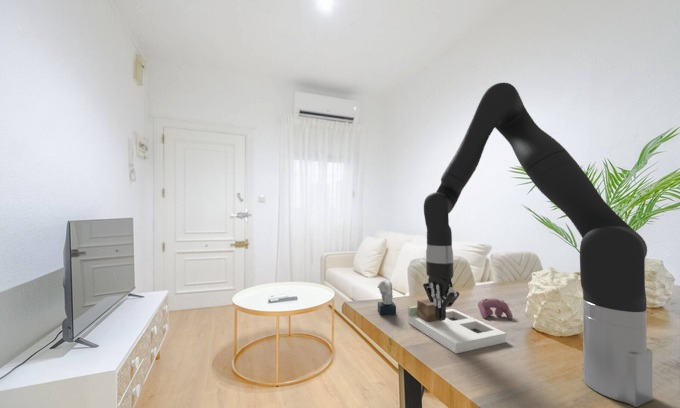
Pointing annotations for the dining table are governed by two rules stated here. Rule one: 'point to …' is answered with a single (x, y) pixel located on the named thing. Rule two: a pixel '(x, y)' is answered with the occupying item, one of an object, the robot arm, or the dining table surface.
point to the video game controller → (494, 303)
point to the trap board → (458, 331)
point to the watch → (386, 299)
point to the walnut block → (426, 310)
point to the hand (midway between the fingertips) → (440, 319)
